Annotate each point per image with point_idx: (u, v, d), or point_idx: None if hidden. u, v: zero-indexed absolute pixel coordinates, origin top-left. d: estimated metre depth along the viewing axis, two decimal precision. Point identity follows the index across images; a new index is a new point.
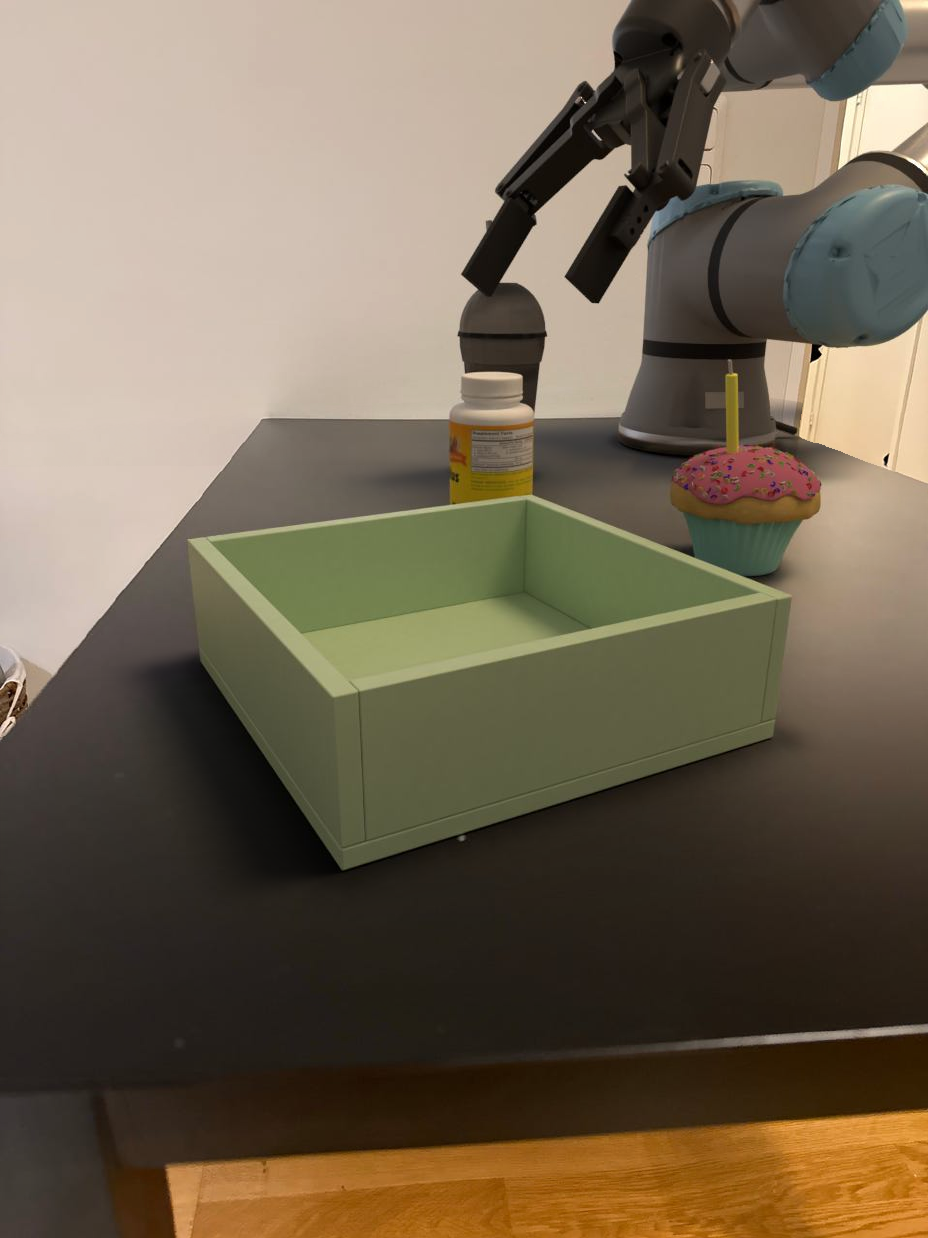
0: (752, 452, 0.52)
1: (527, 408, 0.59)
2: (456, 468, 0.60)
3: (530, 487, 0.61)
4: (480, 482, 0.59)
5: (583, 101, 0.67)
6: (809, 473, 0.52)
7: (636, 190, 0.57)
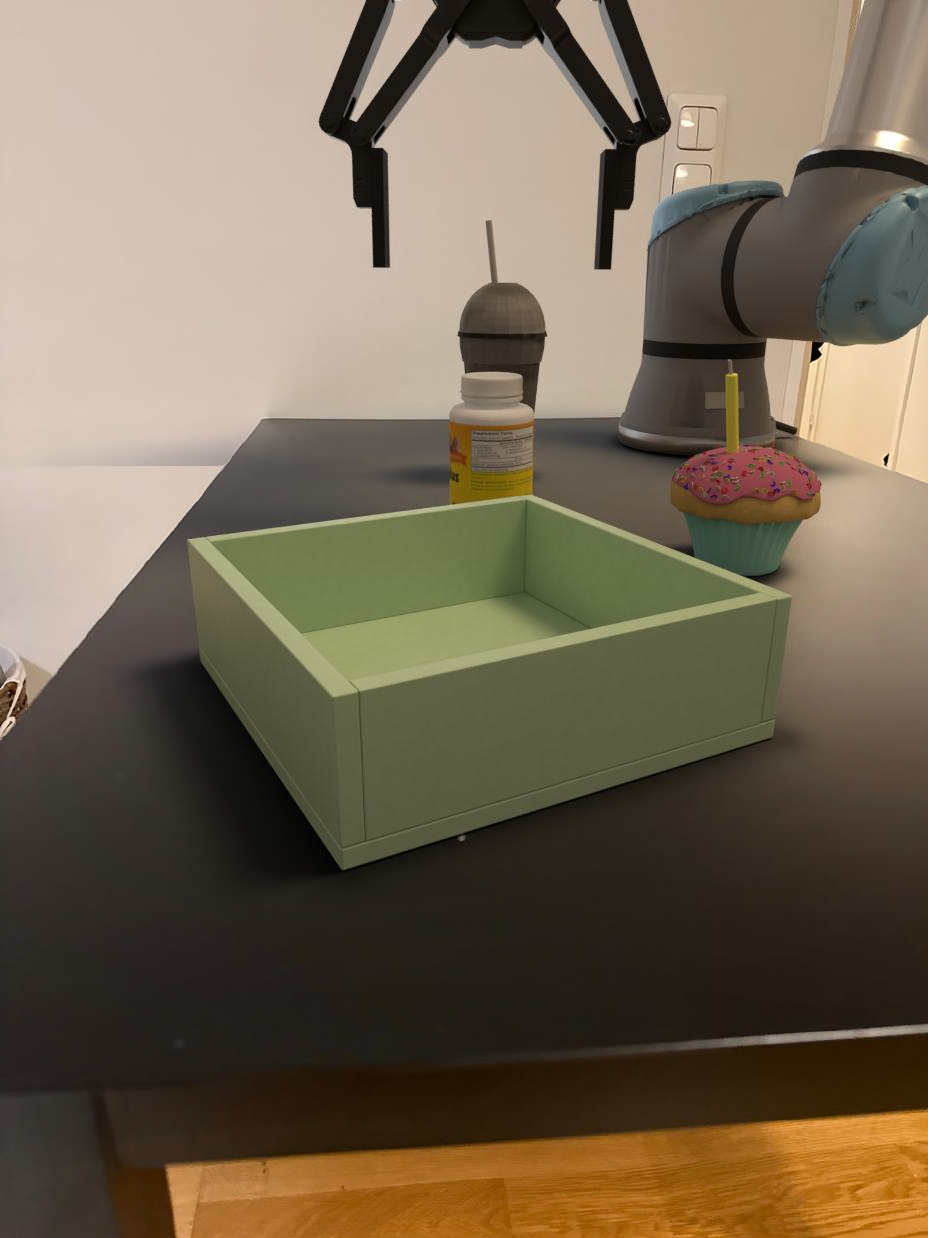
0: (752, 452, 0.52)
1: (527, 408, 0.59)
2: (456, 468, 0.60)
3: (530, 487, 0.61)
4: (480, 482, 0.59)
5: None
6: (809, 473, 0.52)
7: (621, 148, 0.54)
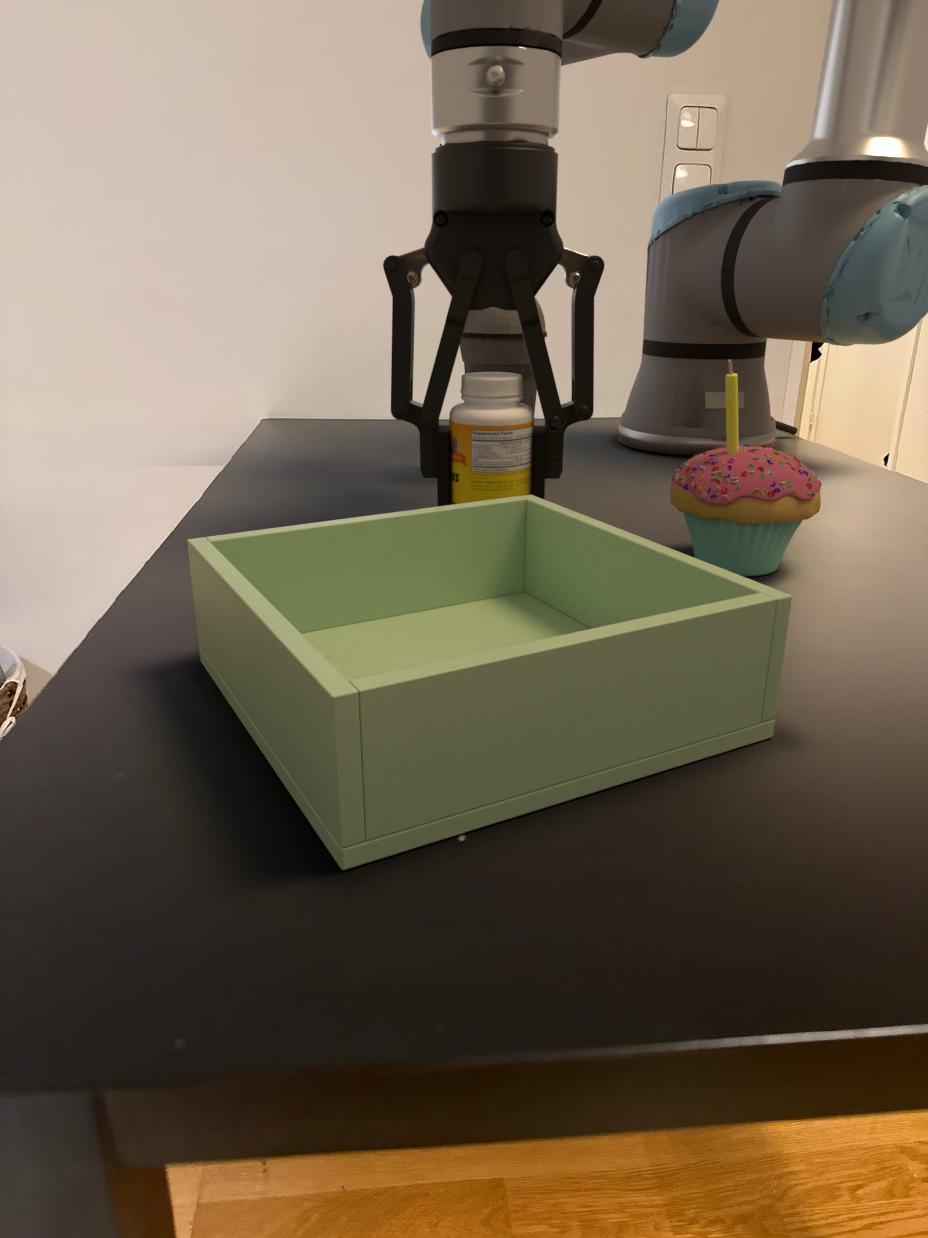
0: (752, 452, 0.52)
1: (527, 408, 0.59)
2: (456, 468, 0.60)
3: (530, 487, 0.61)
4: (480, 482, 0.59)
5: (414, 275, 0.56)
6: (809, 473, 0.52)
7: (547, 426, 0.60)
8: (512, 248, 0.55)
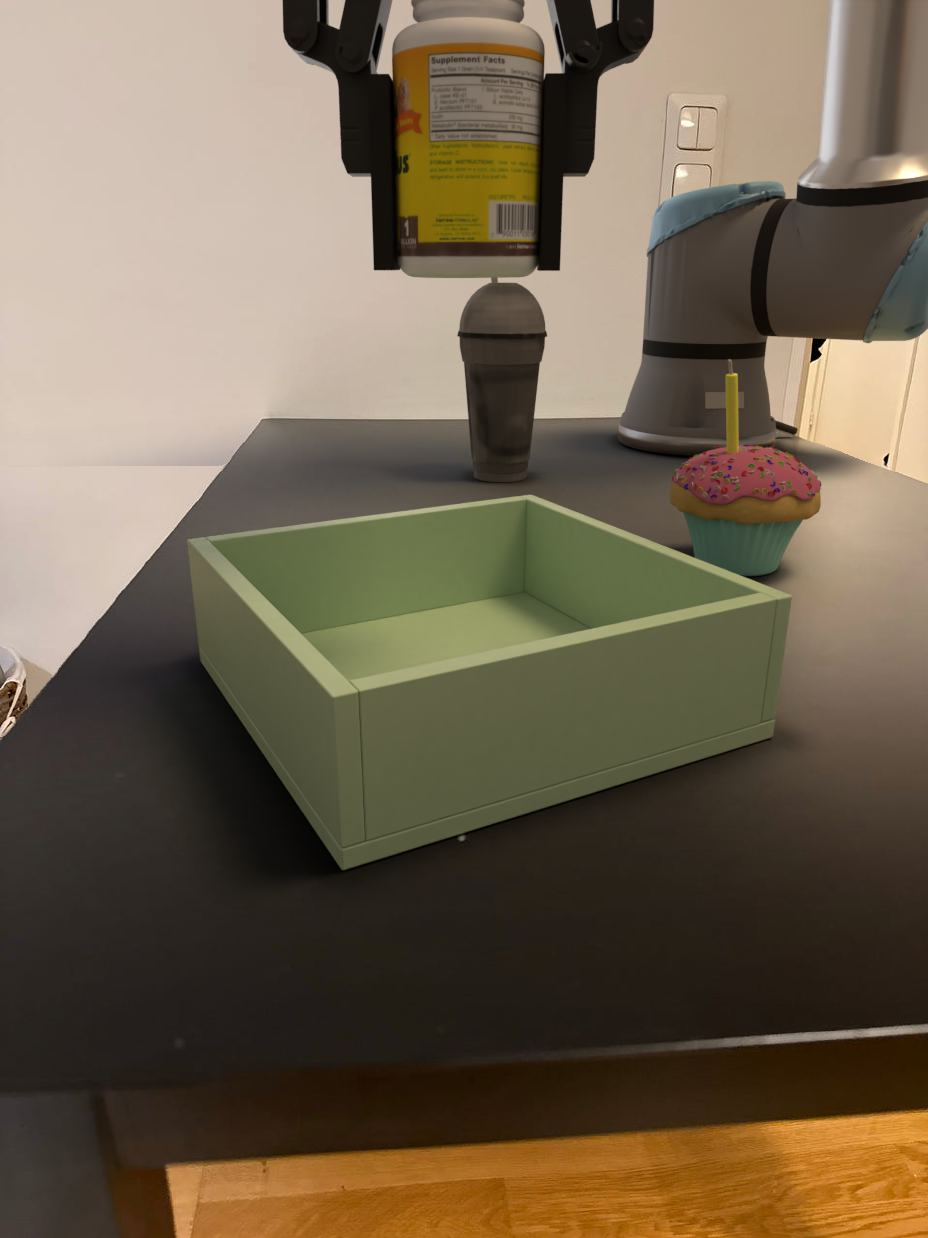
0: (752, 452, 0.52)
1: (532, 29, 0.33)
2: (404, 145, 0.33)
3: (537, 188, 0.34)
4: (446, 161, 0.32)
5: None
6: (809, 473, 0.52)
7: (567, 67, 0.33)
8: None
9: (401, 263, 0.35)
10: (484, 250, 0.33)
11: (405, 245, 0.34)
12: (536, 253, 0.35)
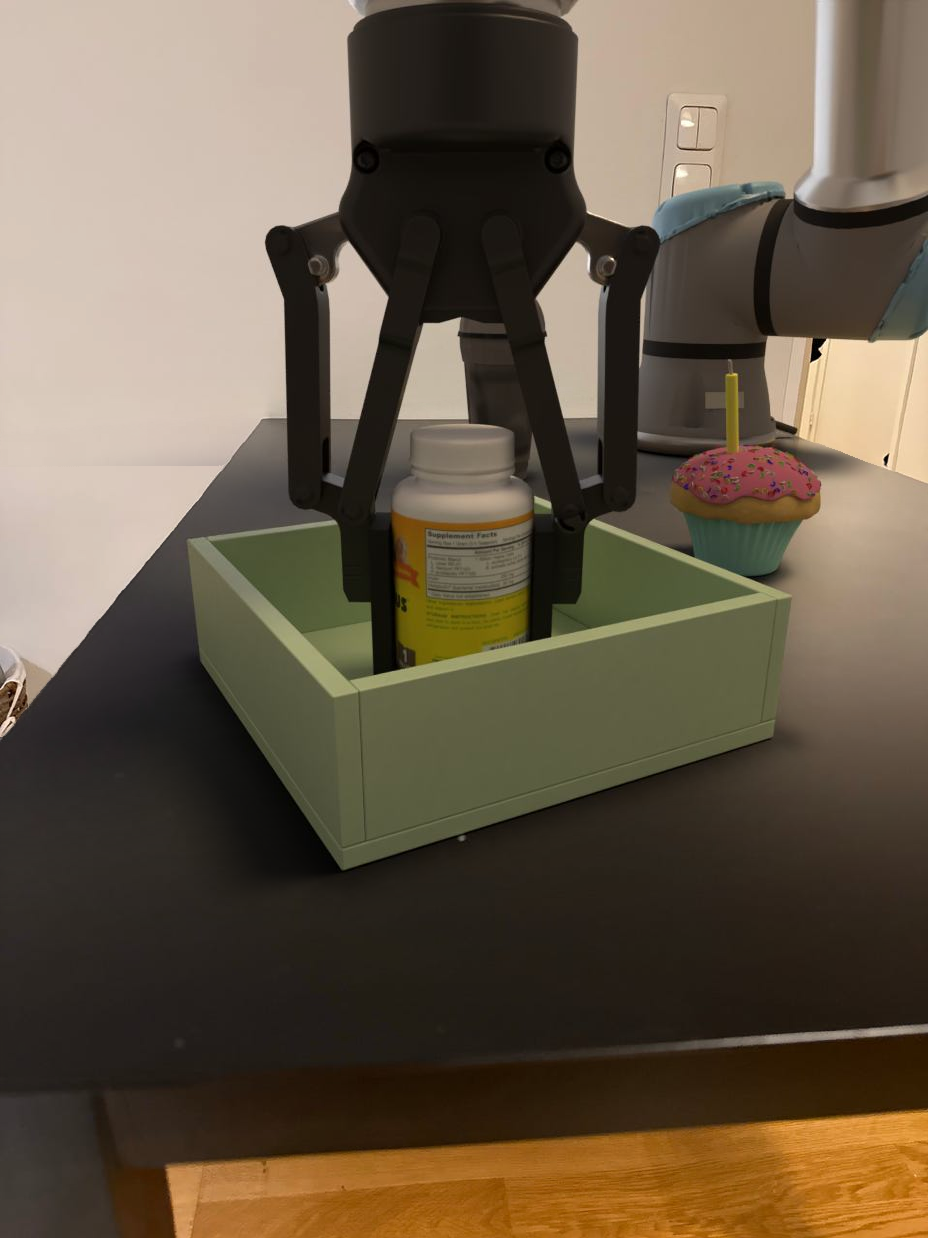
0: (752, 452, 0.52)
1: (523, 489, 0.35)
2: (403, 589, 0.35)
3: (528, 618, 0.36)
4: (441, 615, 0.34)
5: (323, 261, 0.32)
6: (809, 473, 0.52)
7: None
8: (495, 213, 0.31)
9: None
10: None
11: (403, 668, 0.37)
12: None
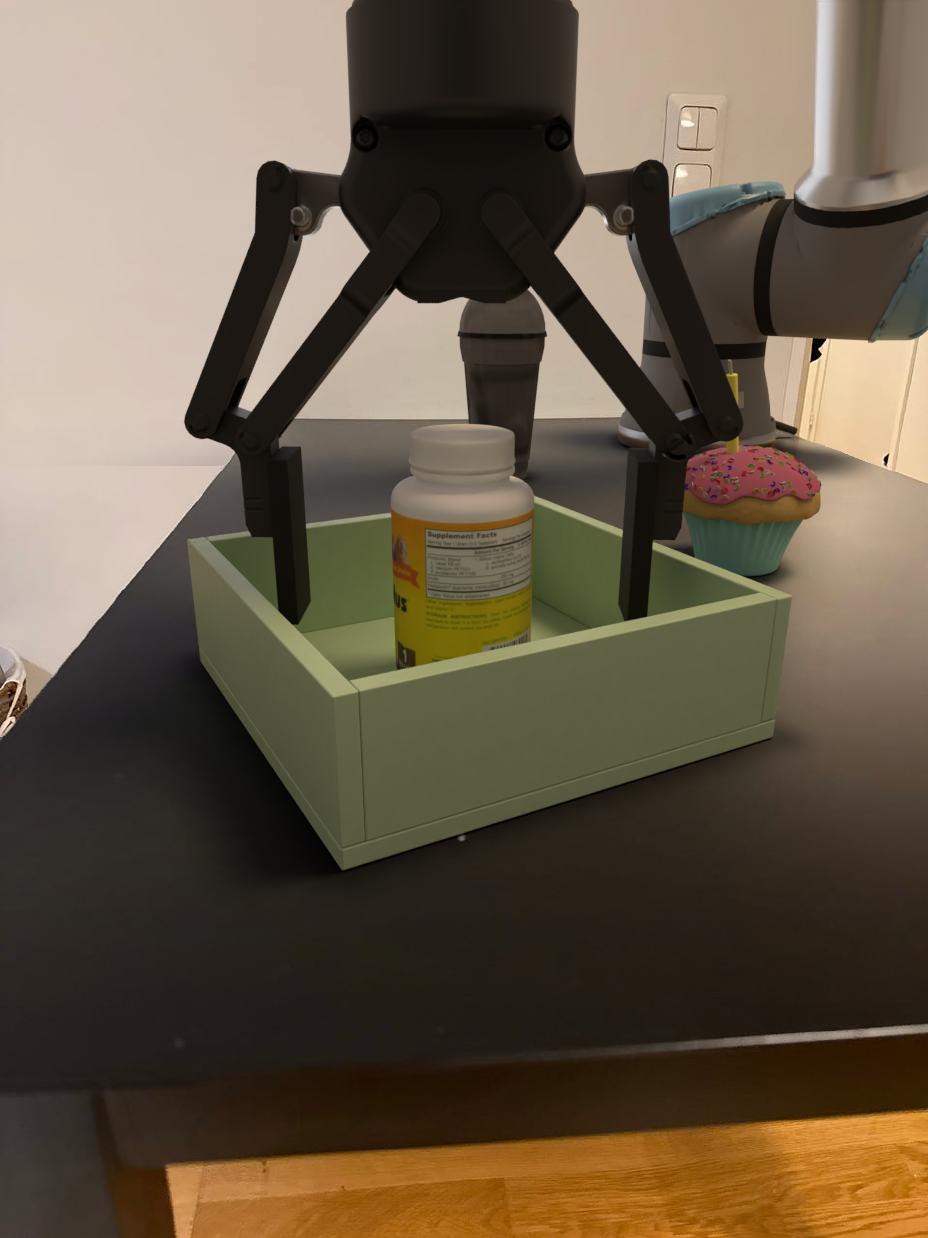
0: (752, 452, 0.52)
1: (522, 489, 0.35)
2: (403, 590, 0.35)
3: (528, 618, 0.36)
4: (441, 615, 0.34)
5: (306, 214, 0.31)
6: (809, 473, 0.52)
7: (663, 455, 0.34)
8: (487, 195, 0.31)
9: None
10: None
11: (403, 668, 0.37)
12: None
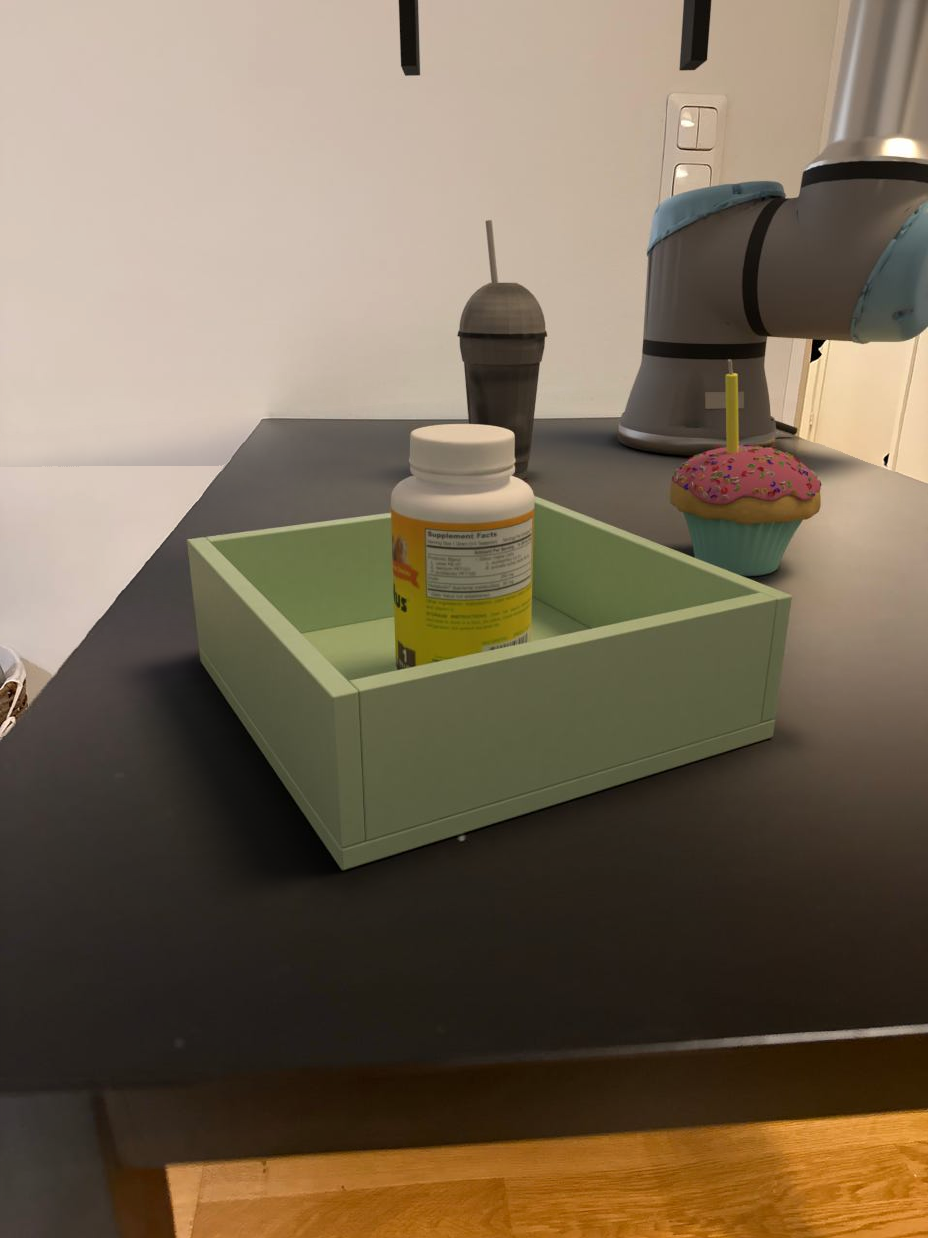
0: (752, 452, 0.52)
1: (523, 489, 0.35)
2: (403, 590, 0.35)
3: (528, 618, 0.36)
4: (441, 615, 0.34)
5: None
6: (809, 473, 0.52)
7: None
8: None
9: None
10: None
11: (403, 668, 0.37)
12: None
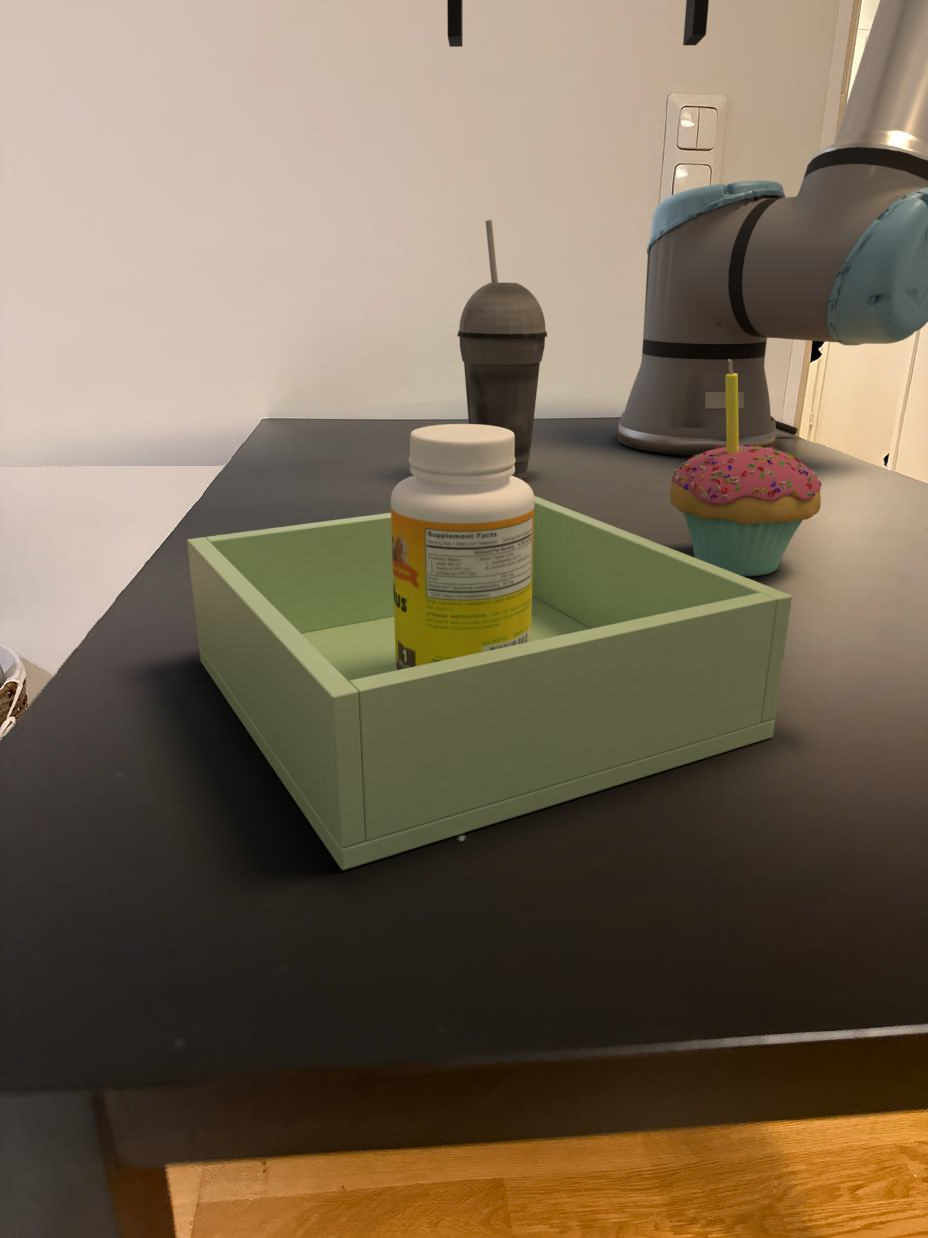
0: (752, 452, 0.52)
1: (523, 489, 0.35)
2: (403, 590, 0.35)
3: (528, 618, 0.36)
4: (441, 615, 0.34)
5: None
6: (809, 473, 0.52)
7: None
8: None
9: None
10: None
11: (403, 668, 0.37)
12: None
